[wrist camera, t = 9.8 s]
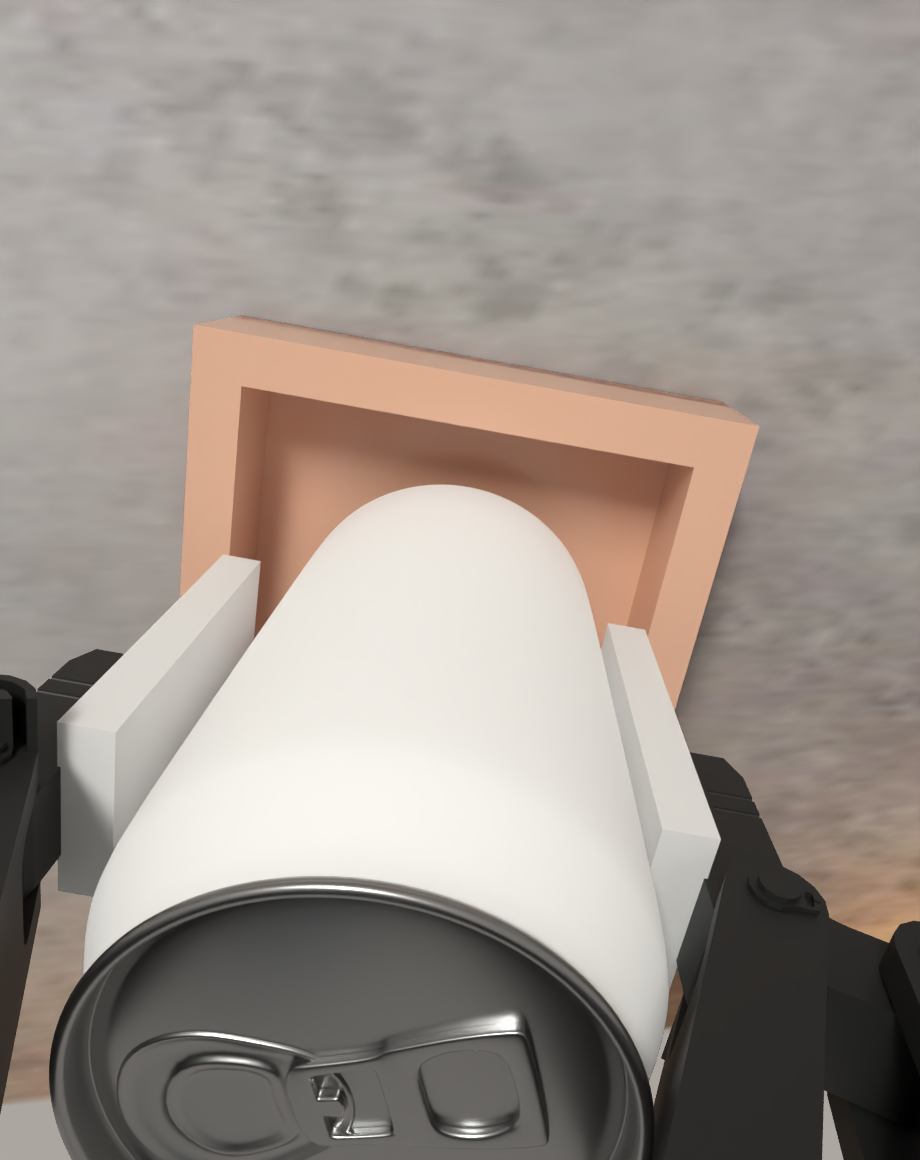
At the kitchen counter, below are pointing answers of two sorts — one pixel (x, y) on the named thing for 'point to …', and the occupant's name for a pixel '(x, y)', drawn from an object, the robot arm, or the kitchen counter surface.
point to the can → (384, 878)
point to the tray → (458, 464)
